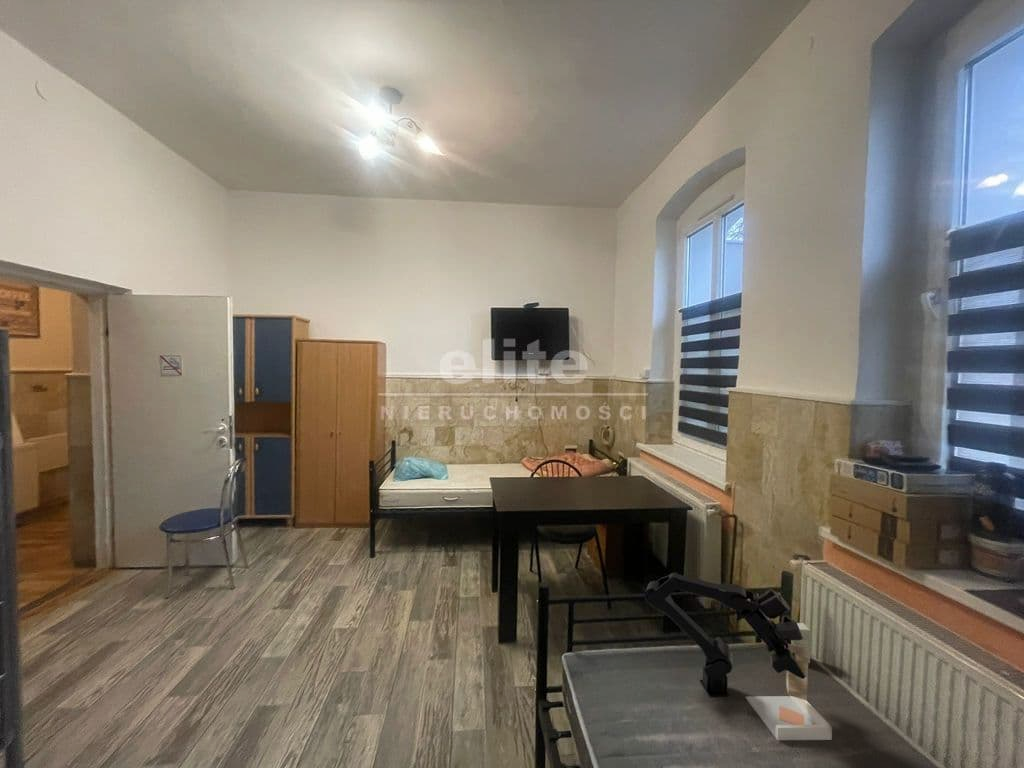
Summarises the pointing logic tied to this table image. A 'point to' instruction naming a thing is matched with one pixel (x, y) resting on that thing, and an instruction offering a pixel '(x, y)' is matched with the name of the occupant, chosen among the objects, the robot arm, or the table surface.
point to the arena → (790, 718)
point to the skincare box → (805, 641)
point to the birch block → (793, 682)
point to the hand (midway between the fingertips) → (802, 672)
